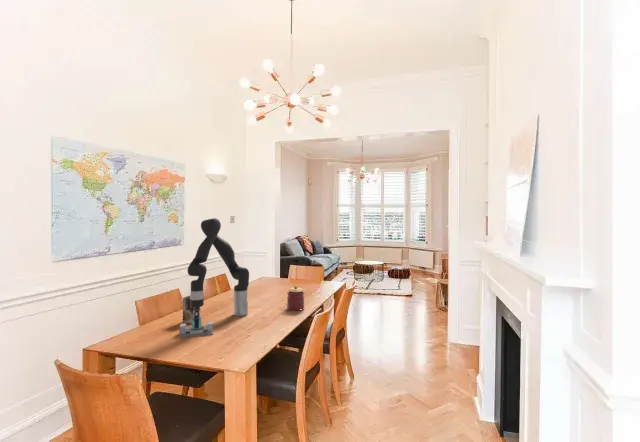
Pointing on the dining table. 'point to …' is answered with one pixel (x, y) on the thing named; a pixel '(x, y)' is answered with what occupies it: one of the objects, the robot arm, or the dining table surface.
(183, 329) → the shaft bench
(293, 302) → the canister
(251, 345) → the dining table surface
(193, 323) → the coupler
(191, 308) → the coffee box
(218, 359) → the dining table surface
